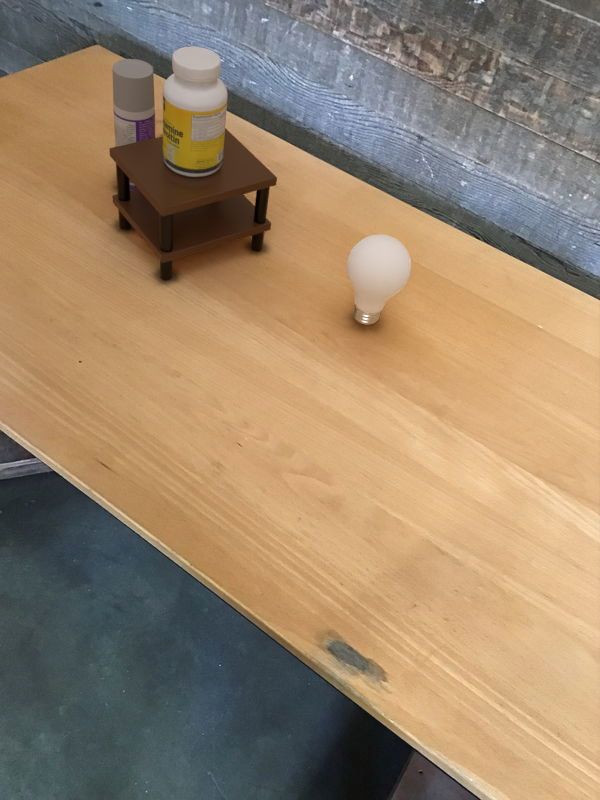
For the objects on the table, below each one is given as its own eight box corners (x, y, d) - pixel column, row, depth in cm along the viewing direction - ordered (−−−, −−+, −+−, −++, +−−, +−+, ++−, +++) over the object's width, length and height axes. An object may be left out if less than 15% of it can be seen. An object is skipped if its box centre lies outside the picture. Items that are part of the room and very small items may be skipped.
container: (151, 173, 97) (150, 57, 86) (159, 194, 94) (158, 78, 83) (114, 175, 96) (108, 58, 84) (121, 197, 93) (115, 79, 82)
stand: (162, 284, 84) (162, 208, 76) (113, 224, 89) (109, 147, 82) (268, 250, 90) (277, 177, 83) (216, 196, 96) (220, 123, 88)
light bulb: (355, 292, 87) (375, 212, 79) (404, 320, 85) (430, 241, 77) (323, 321, 83) (340, 240, 75) (373, 351, 81) (397, 271, 73)
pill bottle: (163, 144, 84) (163, 38, 75) (222, 148, 85) (228, 44, 76) (161, 178, 80) (161, 70, 71) (223, 182, 81) (230, 76, 72)
